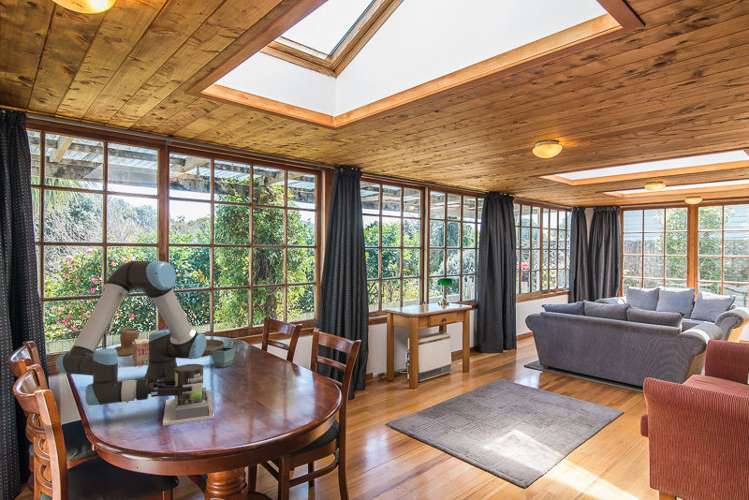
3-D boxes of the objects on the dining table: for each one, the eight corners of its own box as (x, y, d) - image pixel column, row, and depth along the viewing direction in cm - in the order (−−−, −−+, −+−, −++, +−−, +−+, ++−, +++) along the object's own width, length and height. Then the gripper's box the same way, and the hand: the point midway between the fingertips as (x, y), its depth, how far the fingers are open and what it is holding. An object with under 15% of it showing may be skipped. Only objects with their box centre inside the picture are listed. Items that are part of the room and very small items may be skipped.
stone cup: (141, 354, 252) (141, 328, 252) (118, 357, 244) (118, 331, 244) (134, 349, 263) (134, 325, 263) (112, 352, 255) (112, 327, 255)
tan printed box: (132, 358, 244) (132, 336, 244) (144, 356, 247) (144, 335, 247) (136, 367, 226) (136, 343, 226) (149, 365, 230) (149, 342, 229)
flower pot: (210, 367, 226) (210, 350, 226) (222, 363, 234) (222, 346, 234) (224, 369, 223) (224, 351, 223) (235, 364, 231) (235, 348, 231)
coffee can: (209, 402, 168) (209, 366, 168) (185, 410, 160) (185, 372, 160) (192, 397, 174) (192, 362, 174) (168, 405, 165) (168, 368, 165)
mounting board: (162, 425, 152) (162, 422, 152) (166, 402, 175) (166, 399, 175) (214, 418, 159) (214, 415, 159) (211, 396, 182) (211, 394, 182)
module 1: (175, 420, 154) (175, 410, 154) (175, 415, 159) (175, 405, 159) (208, 415, 159) (208, 406, 159) (207, 410, 163) (207, 401, 163)
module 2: (176, 403, 171) (176, 394, 171) (176, 399, 175) (177, 390, 175) (206, 399, 175) (206, 391, 175) (206, 395, 180) (206, 387, 180)
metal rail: (209, 416, 158) (209, 410, 158) (206, 395, 180) (206, 390, 180) (213, 415, 159) (213, 409, 159) (210, 394, 181) (210, 390, 181)
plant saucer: (167, 360, 239) (167, 352, 239) (169, 348, 267) (169, 341, 267) (226, 355, 252) (226, 347, 252) (222, 344, 280) (222, 337, 280)
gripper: (139, 390, 170) (200, 384, 179) (132, 410, 149) (201, 402, 158) (139, 371, 170) (200, 365, 179) (132, 389, 149) (201, 381, 158)
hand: (201, 382), depth 168 cm, fingers closed on coffee can, 10 cm apart
